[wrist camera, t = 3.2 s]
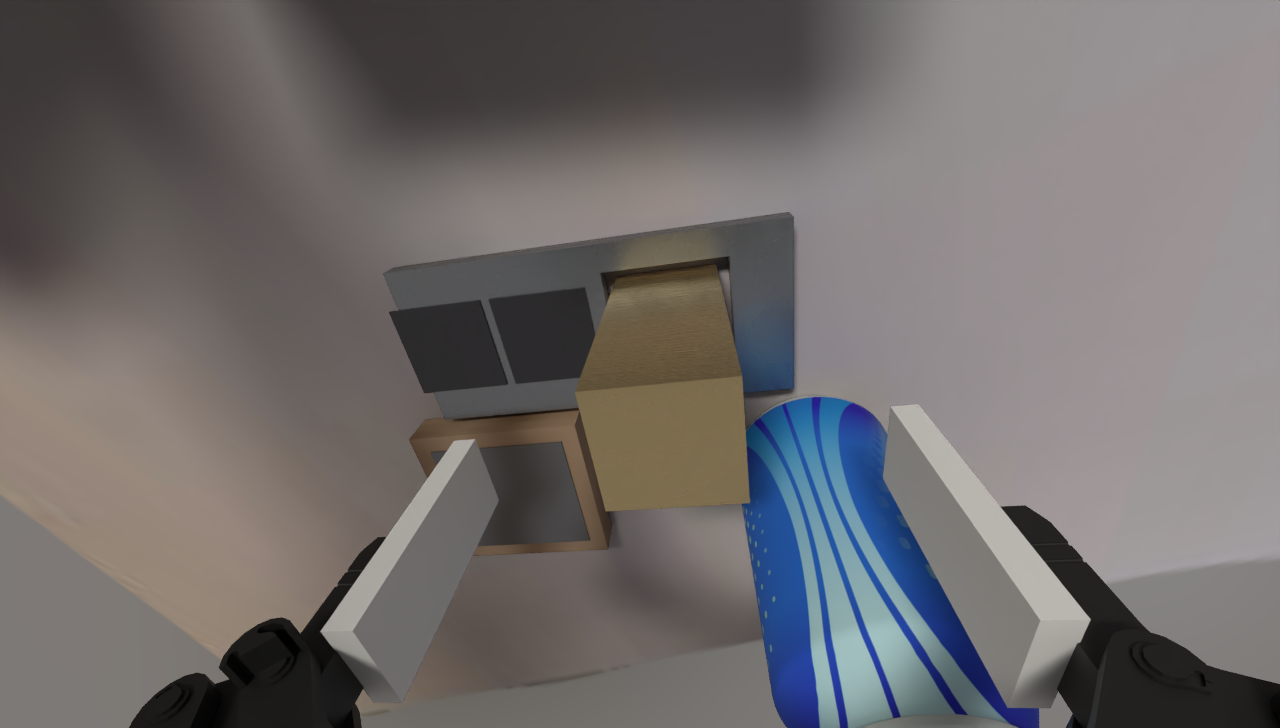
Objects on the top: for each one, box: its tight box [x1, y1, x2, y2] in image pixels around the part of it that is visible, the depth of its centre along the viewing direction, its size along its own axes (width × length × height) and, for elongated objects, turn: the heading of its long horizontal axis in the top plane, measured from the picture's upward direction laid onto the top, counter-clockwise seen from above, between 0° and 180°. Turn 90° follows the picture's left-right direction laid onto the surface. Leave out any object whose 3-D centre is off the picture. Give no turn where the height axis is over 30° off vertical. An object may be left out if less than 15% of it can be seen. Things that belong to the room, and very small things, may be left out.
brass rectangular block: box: [575, 264, 750, 511], centre depth 20 cm, size 5×5×11 cm
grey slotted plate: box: [383, 212, 794, 420], centre depth 25 cm, size 20×9×1 cm, turn 99°
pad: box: [409, 408, 612, 556], centre depth 30 cm, size 10×10×2 cm
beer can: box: [742, 395, 1039, 728], centre depth 21 cm, size 8×8×16 cm
